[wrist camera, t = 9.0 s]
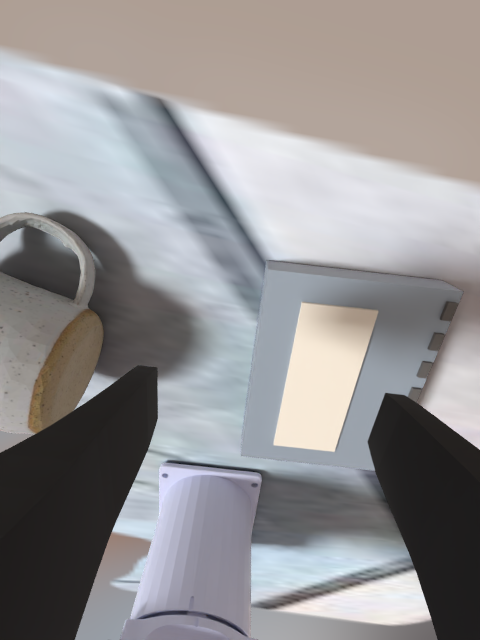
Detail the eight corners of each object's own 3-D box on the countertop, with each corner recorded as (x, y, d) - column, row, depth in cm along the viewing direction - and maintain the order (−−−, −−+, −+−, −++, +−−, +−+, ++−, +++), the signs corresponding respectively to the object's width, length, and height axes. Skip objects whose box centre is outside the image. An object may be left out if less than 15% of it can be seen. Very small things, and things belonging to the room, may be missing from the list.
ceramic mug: (100, 386, 22) (27, 483, 14) (-20, 349, 21) (-161, 433, 14) (132, 241, 17) (51, 277, 10) (-16, 187, 17) (-214, 187, 10)
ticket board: (376, 448, 23) (388, 474, 21) (241, 434, 23) (240, 458, 21) (441, 280, 17) (466, 292, 15) (266, 260, 17) (268, 270, 15)
